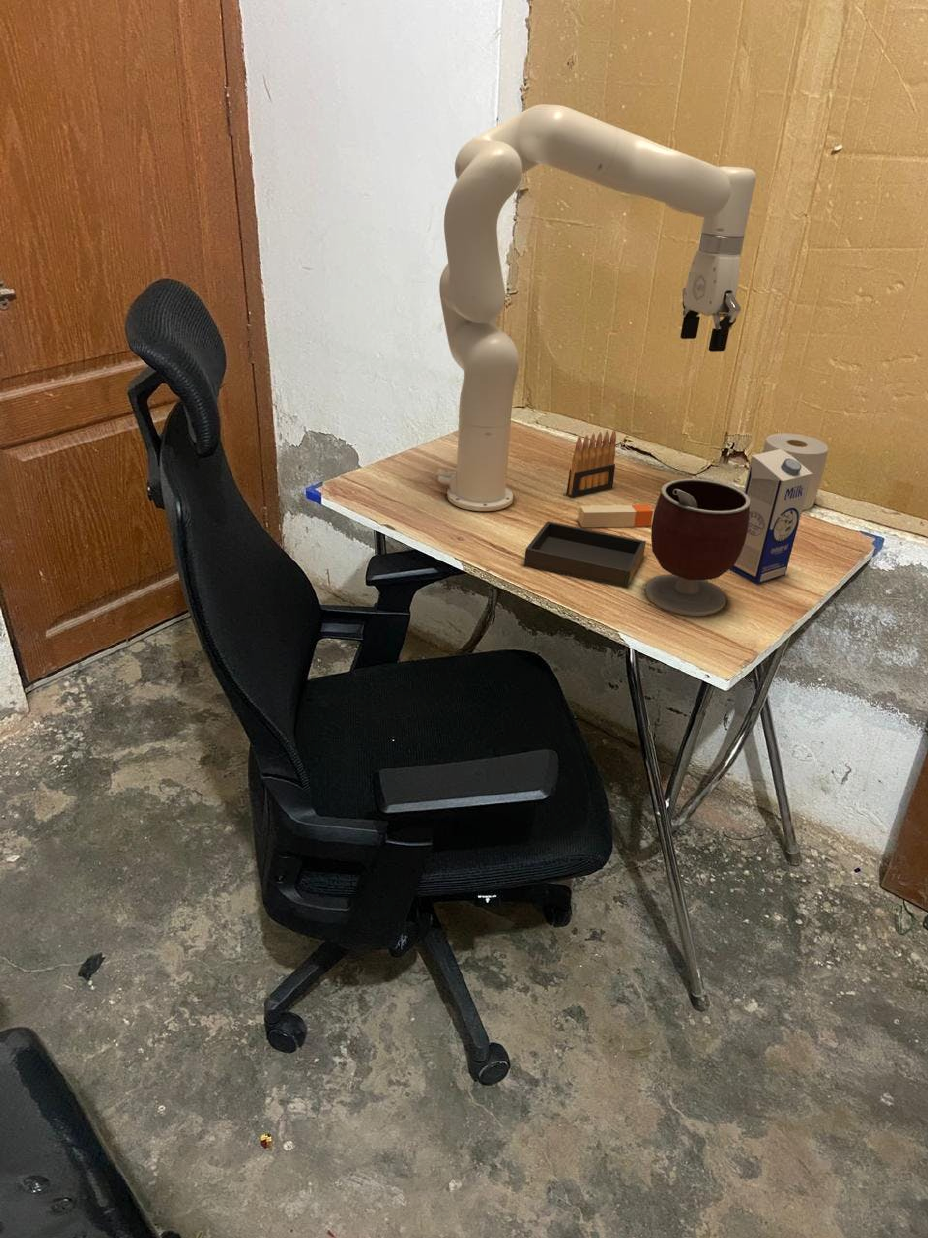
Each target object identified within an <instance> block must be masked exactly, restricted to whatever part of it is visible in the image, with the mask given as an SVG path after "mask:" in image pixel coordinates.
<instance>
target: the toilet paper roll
mask: <svg viewBox="0 0 928 1238" xmlns="http://www.w3.org/2000/svg"><path fill="white" fill-rule="evenodd" d="M778 449H782V450H783V451H785V452H786V453H788V454H790V455H791V456H792V457H794V458H795V459H796V460H797V461H798V462H800V463H801V464H802V465H803V466H804V467H806V468H807V469H808V470H809V471H810V472H812V473H813V474H812V476H811V480H810V484H809V487H808V491H807V495H806V498H805V502H804V506H803V510H802V511H805V510H809V509H810V508H812V507H813V506H814V503H815V500H816V497H817V495H818V491H819V488H820V485H821V482H822V478H823V474H824V469H825V466H826V462H827V457H828V453H829V446H828V445H827V444H826V442H824V441H822V440H819V439H817V438H814V437H811V436H807V435H802V434H797V433H795V434H794V433H785V432H784V433H773V434H770V435H768V436H767V437H766V438H765V441H764V445H763V448H762V451H761V453H765V452H769V451H774V450H778Z"/></svg>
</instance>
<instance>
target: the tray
mask: <svg viewBox="0 0 928 1238" xmlns="http://www.w3.org/2000/svg"><path fill="white" fill-rule="evenodd" d="M646 543H647V541H646V540H642V539H637V538H632V537H628V536H623V535H617V534H612V533H608V532H603V531H597V530H594V529H593V530H592V529H588V528H582V527H579V526H578V527H577V526H574V525H573V526H572V525H568V524H563V523H559V522H553V521H546V522H545V524H544V525H543V526H542V527H541V529H540V530H539V531H538V533H537V534H536V535H535V536H534V538H533V539H532V540H531V541H530V543H529V544H528V545H527V546H526V548H525V549H524V550H525V551H524V562H523V565H524V566H526V567H530V568H534V569H540V570H542V571H543V570H544V571H548V572H553V573H558V574H561V575H566V576H571V577H576V578H579V579H584V580H588V581H593V582H599V583H601V584H602V583H603V584H608V585H612V586H616V587H621V588H626V589H629V586H630V585H631V584H632V583H631V582H632V581H633V578H634V577H635V574H636V572H637V570H638V569H639V566H640V564H641V562H642V560H643V559H644V555H645V550H646Z"/></svg>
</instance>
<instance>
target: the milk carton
mask: <svg viewBox="0 0 928 1238" xmlns="http://www.w3.org/2000/svg"><path fill="white" fill-rule="evenodd" d="M812 474H813V473H812V472H810V471H809V470H808V469H807V468H806V467H804V466H803V465H802V464H801V463H800V462H798V461H797V460H796V459H795V458H794V457H792V456H791V455H790V454H788V453H786V452H785V451H783V450H782V449H778V450H774V451H769V452H765V453H762V452H760V453H756V454H751V459H750V463H749V468H748V472H747V476H746V480H745V485H744V490H743V492H744V493H745V494H747V496H748V497H749V498H750V505H749V506H750V514H749V526H748V531H747V536H746V540H745V544H744V546H743V548H742V551H741V553H740V556H739V557H738V559H737V561H736V563H735V564H734V566H733V567H731V568H730V569H729V570H730V571H731V572H734V573H736V574H738V575H739V576H741V577H743V578H744V579H746V580H748V581H750V582H752V583H754V584H756V585H759V584H762V583H766V582H769V581H772V580H776V579H778V578H781V577H784V576H786V573H787V568H788V565H789V562H790V558H791V554H792V549H793V546H794V542H795V539H796V537H797V536H796V535H797V531H798V528H799V524H800V521H801V516H802V513H803V511H804V510H803V506H804V502H805V498H806V495H807V491H808V487H809V484H810V480H811V476H812Z"/></svg>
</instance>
